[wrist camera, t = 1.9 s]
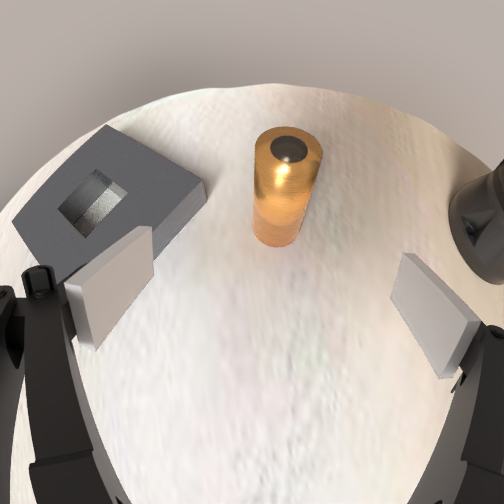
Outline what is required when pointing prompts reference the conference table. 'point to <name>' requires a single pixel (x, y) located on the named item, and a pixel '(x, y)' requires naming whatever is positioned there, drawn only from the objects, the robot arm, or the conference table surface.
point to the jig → (121, 216)
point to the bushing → (283, 183)
